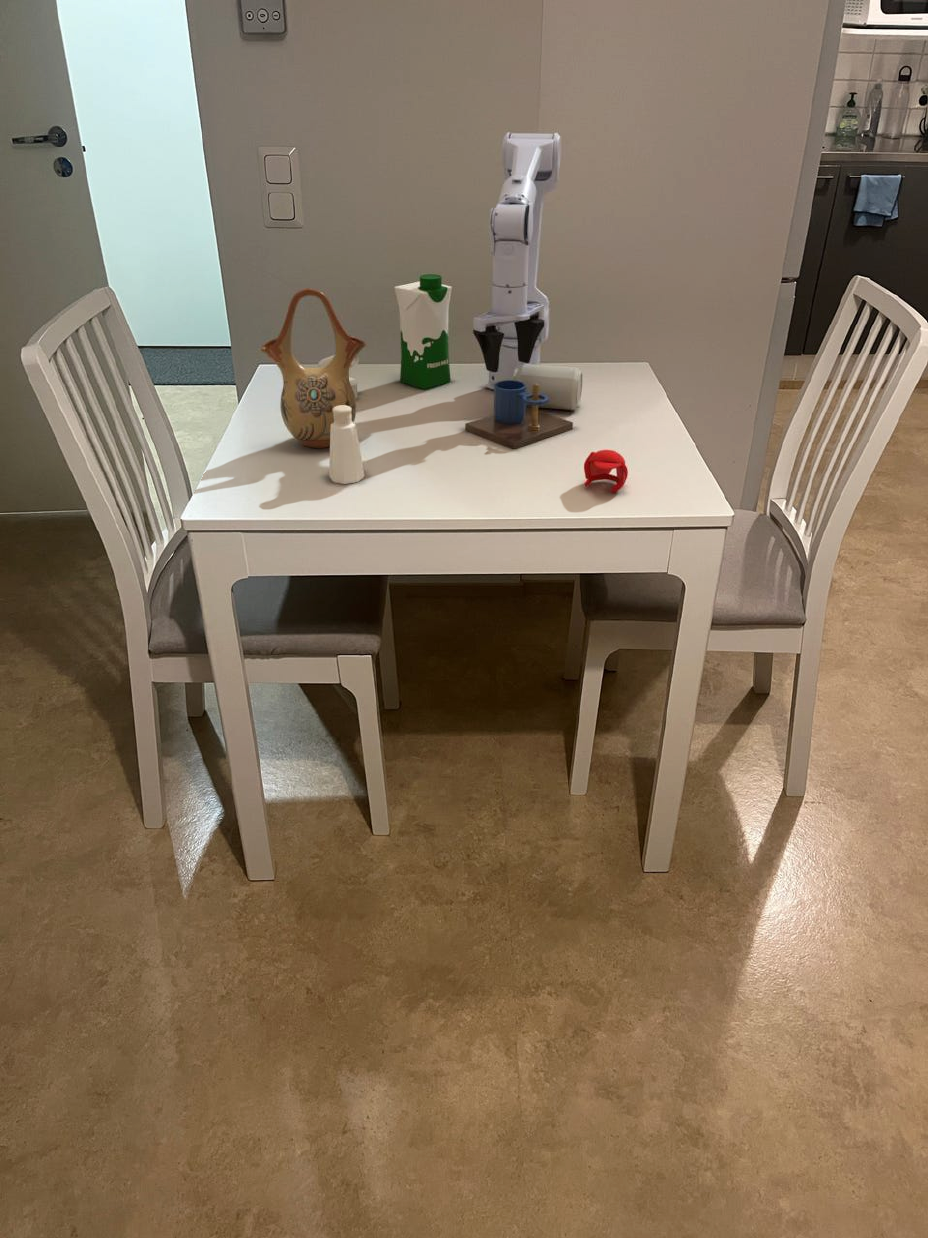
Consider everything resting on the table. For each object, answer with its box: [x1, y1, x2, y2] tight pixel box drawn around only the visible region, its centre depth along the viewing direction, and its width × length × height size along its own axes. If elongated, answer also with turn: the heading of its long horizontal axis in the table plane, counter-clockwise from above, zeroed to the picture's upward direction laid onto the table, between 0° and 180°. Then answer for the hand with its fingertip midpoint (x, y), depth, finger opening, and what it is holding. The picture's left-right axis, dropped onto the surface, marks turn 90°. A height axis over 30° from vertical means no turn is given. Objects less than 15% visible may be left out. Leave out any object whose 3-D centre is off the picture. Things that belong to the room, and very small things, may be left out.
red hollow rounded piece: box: [583, 449, 629, 493], centre depth 141 cm, size 8×6×6 cm
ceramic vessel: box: [259, 287, 367, 449], centre depth 151 cm, size 16×9×25 cm, turn 99°
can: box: [512, 364, 583, 411], centre depth 171 cm, size 8×8×12 cm
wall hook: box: [316, 353, 360, 400], centre depth 176 cm, size 9×10×10 cm
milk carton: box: [393, 273, 453, 390], centre depth 180 cm, size 9×9×20 cm
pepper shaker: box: [328, 405, 366, 485], centre depth 143 cm, size 5×5×11 cm
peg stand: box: [464, 383, 574, 450], centre depth 161 cm, size 12×14×9 cm
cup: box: [493, 380, 548, 424], centre depth 161 cm, size 11×5×6 cm, turn 42°
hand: (508, 366), depth 163 cm, fingers open, 7 cm apart
